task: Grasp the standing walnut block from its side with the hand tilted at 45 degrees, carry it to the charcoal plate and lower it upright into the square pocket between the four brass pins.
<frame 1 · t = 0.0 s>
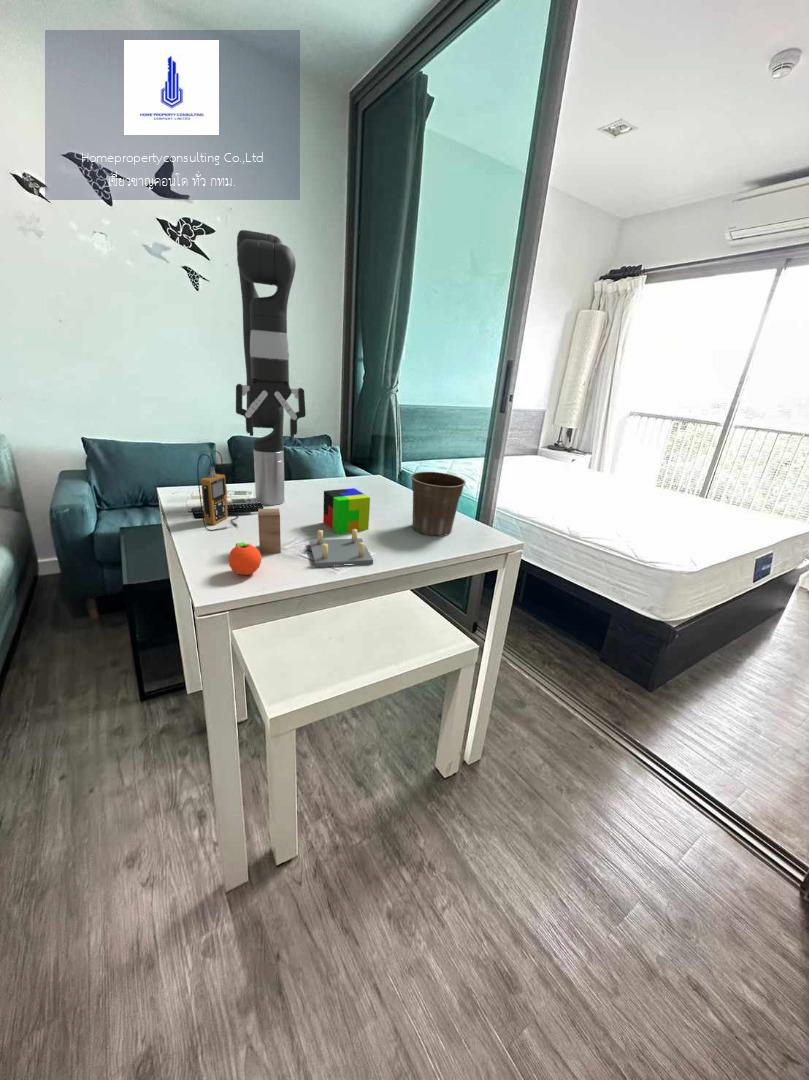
hand: (272, 436, 96), 29 cm above the table, tool pointing down, fingers open, 8 cm apart
multimeter: (228, 523, 125), on the table
clementine: (244, 573, 98), on the table
pin plate: (340, 553, 112), on the table
plant pot: (432, 530, 134), on the table
walnut block: (270, 549, 111), on the table
puzzle toy: (345, 526, 131), on the table
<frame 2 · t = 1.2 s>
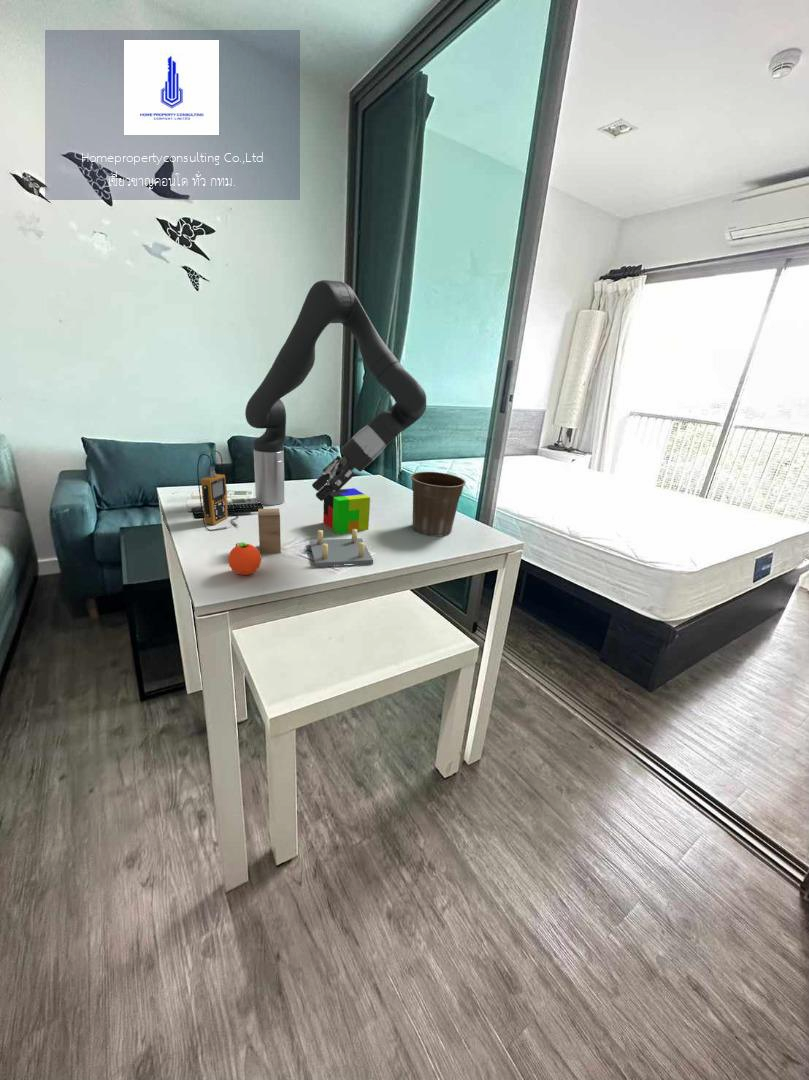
hand: (316, 493, 109), 15 cm above the table, tool tilted 45°, fingers open, 8 cm apart
nothing on the table moved.
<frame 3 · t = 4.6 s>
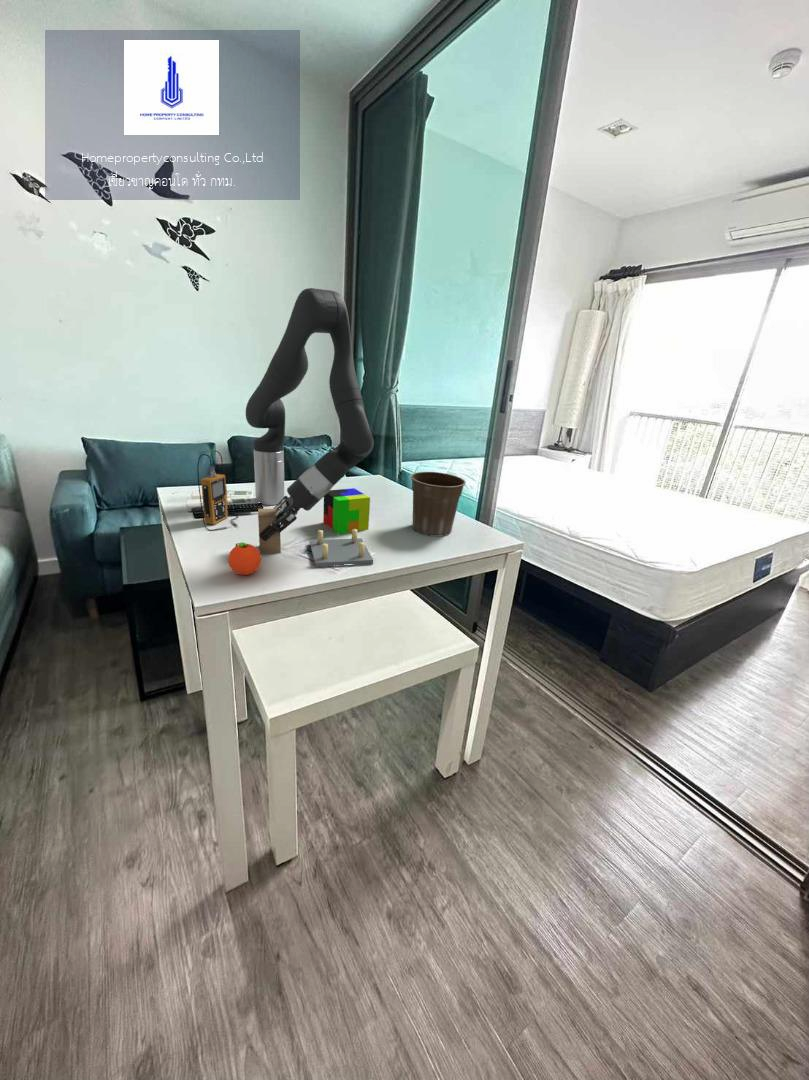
hand: (261, 534, 109), 4 cm above the table, tool tilted 45°, fingers closed on walnut block, 5 cm apart
walnut block: (270, 549, 111), on the table, touching gripper
everything else where it was.
when the fingers open (7 cm above the table, at t = 11.0 s): walnut block drops 2 cm, resting on pin plate.
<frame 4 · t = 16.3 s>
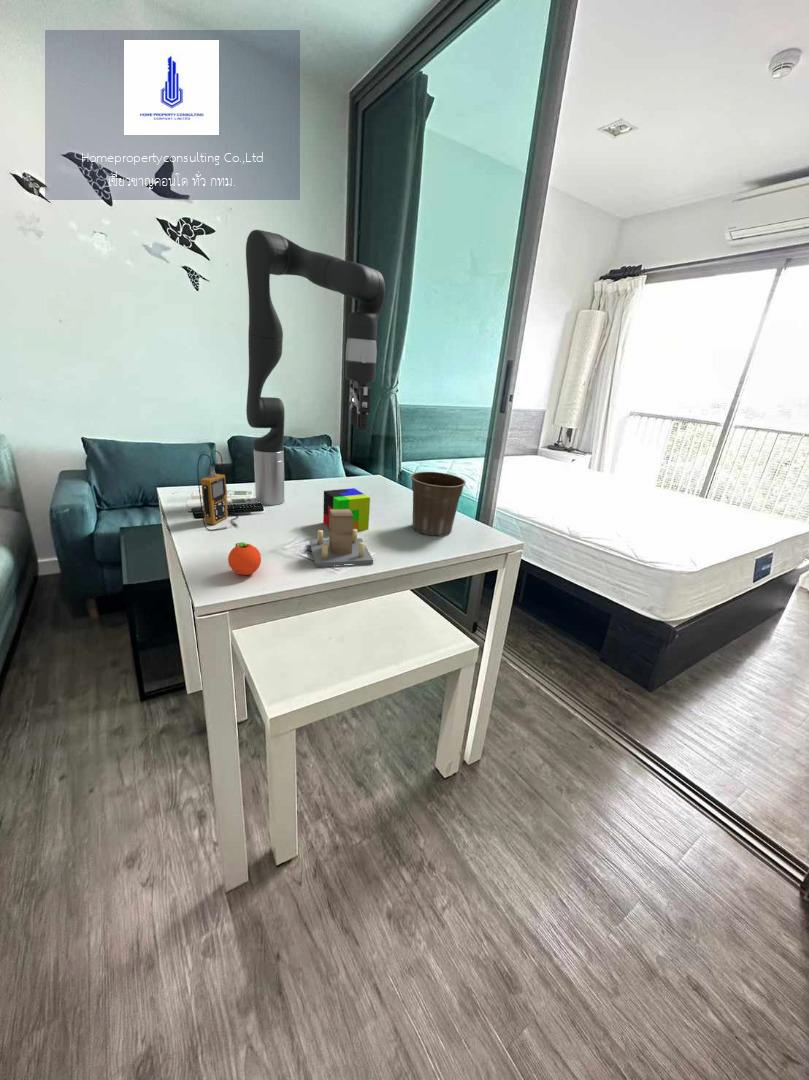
hand: (358, 427, 114), 30 cm above the table, tool pointing down, fingers open, 8 cm apart
walnut block: (340, 549, 111), point 1 cm above the table, touching pin plate
everything else where it was.
at the end: walnut block 0.0 cm off-centre on the pin plate, point 1.2 cm above the pin plate's base; walnut block tilted 0°; the gripper is holding nothing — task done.
